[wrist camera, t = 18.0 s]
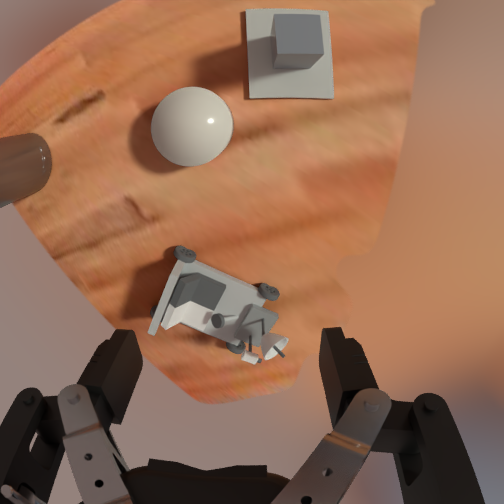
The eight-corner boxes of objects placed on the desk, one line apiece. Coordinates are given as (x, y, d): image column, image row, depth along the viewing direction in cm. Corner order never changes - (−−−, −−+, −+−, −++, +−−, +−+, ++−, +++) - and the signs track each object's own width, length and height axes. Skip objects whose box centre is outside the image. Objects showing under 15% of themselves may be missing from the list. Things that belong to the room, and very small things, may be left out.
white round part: (164, 165, 37) (154, 169, 33) (159, 95, 33) (148, 92, 30) (235, 159, 37) (233, 163, 33) (232, 87, 33) (229, 83, 29)
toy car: (304, 337, 35) (259, 395, 39) (295, 295, 44) (258, 349, 48) (158, 276, 32) (133, 346, 36) (178, 242, 41) (153, 306, 45)
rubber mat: (249, 98, 34) (249, 98, 33) (245, 10, 29) (245, 9, 28) (332, 99, 33) (333, 98, 33) (327, 12, 29) (328, 11, 28)
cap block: (272, 68, 32) (277, 53, 24) (270, 35, 30) (273, 13, 22) (310, 68, 31) (324, 54, 24) (307, 35, 30) (320, 14, 22)
